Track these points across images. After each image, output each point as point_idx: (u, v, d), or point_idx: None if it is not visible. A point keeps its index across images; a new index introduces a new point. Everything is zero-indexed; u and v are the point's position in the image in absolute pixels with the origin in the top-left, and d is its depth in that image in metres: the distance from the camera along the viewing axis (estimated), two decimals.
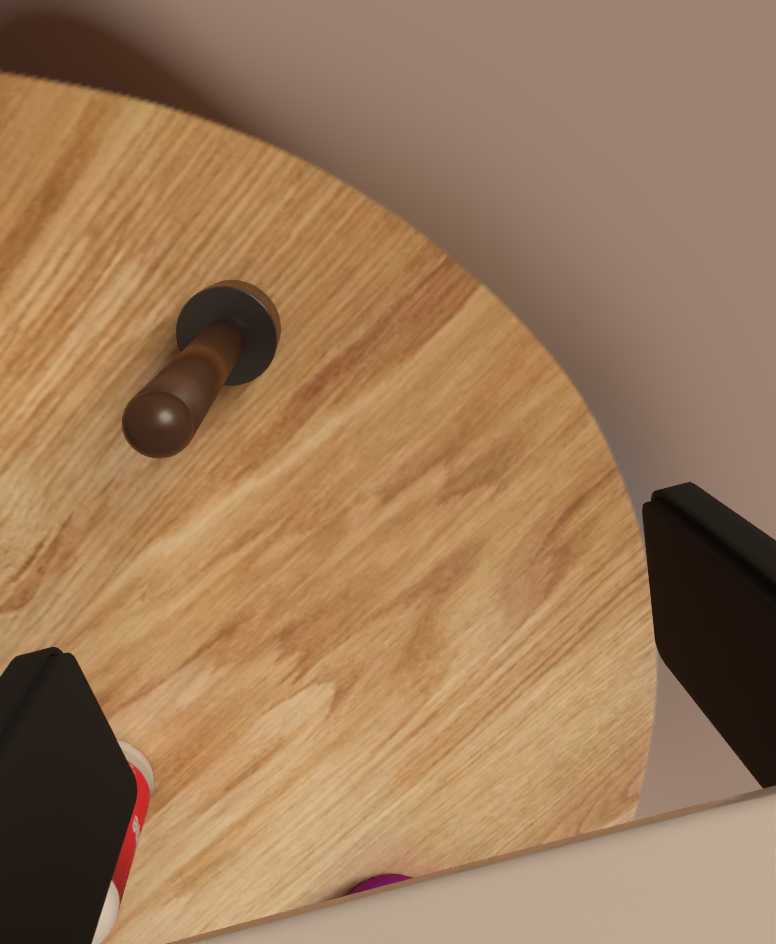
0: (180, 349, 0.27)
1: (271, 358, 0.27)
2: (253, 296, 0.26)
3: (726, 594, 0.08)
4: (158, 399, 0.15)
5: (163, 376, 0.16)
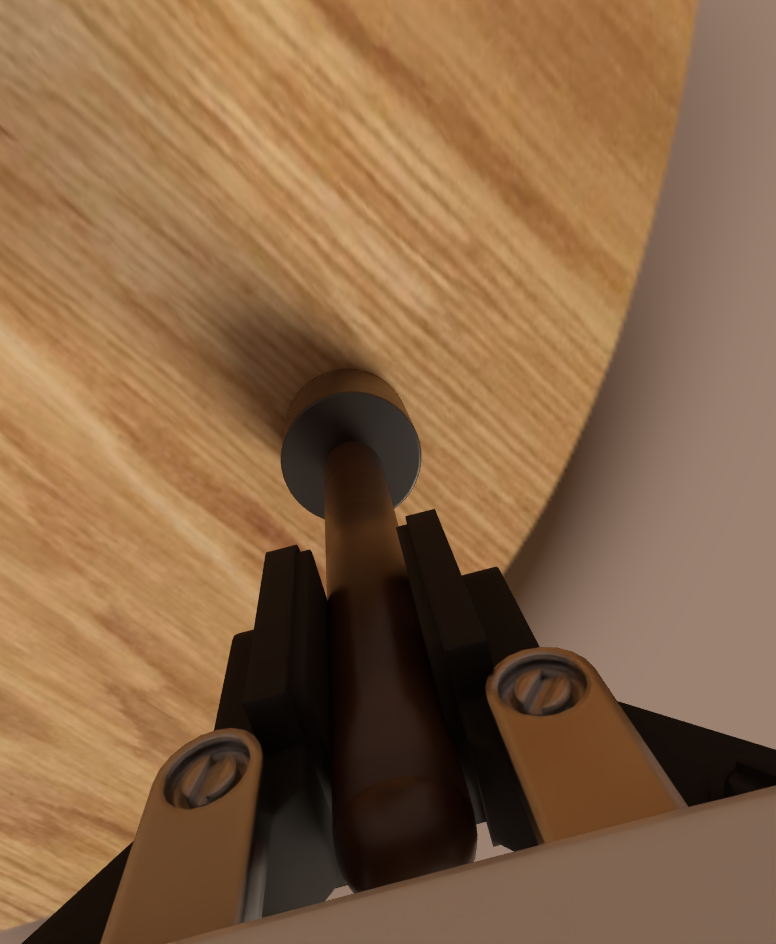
0: (333, 396, 0.18)
1: (322, 517, 0.19)
2: (406, 495, 0.19)
3: None
4: None
5: None
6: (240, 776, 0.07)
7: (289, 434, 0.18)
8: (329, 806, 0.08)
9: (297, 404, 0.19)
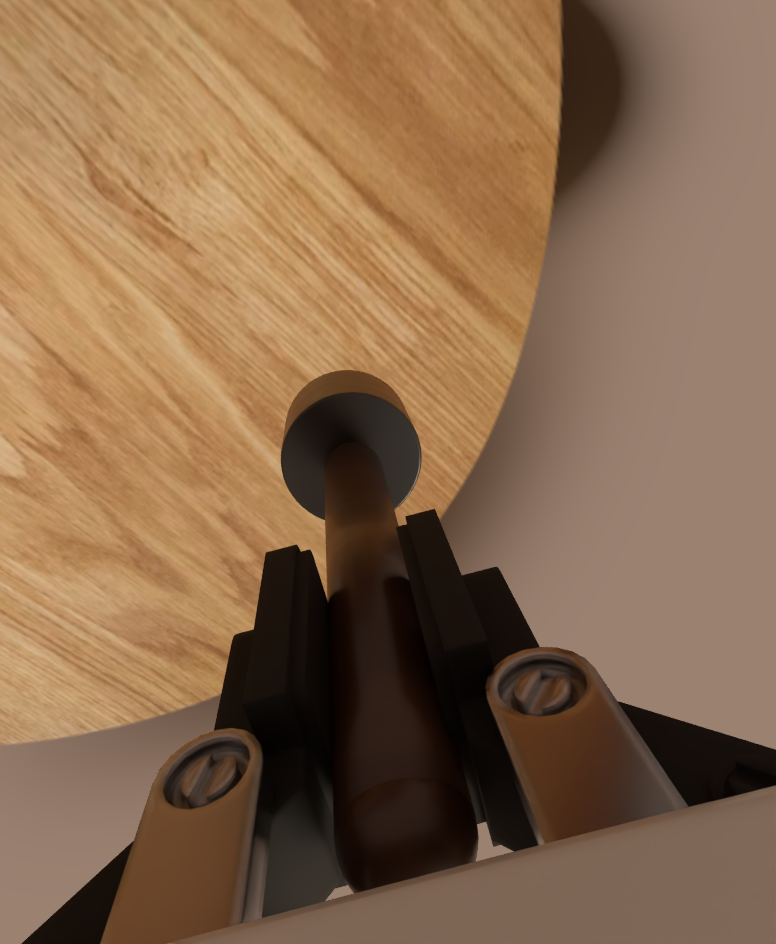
0: (334, 397, 0.18)
1: (322, 518, 0.19)
2: (406, 496, 0.19)
3: None
4: None
5: None
6: (240, 776, 0.07)
7: (289, 435, 0.18)
8: (329, 806, 0.08)
9: (297, 405, 0.19)
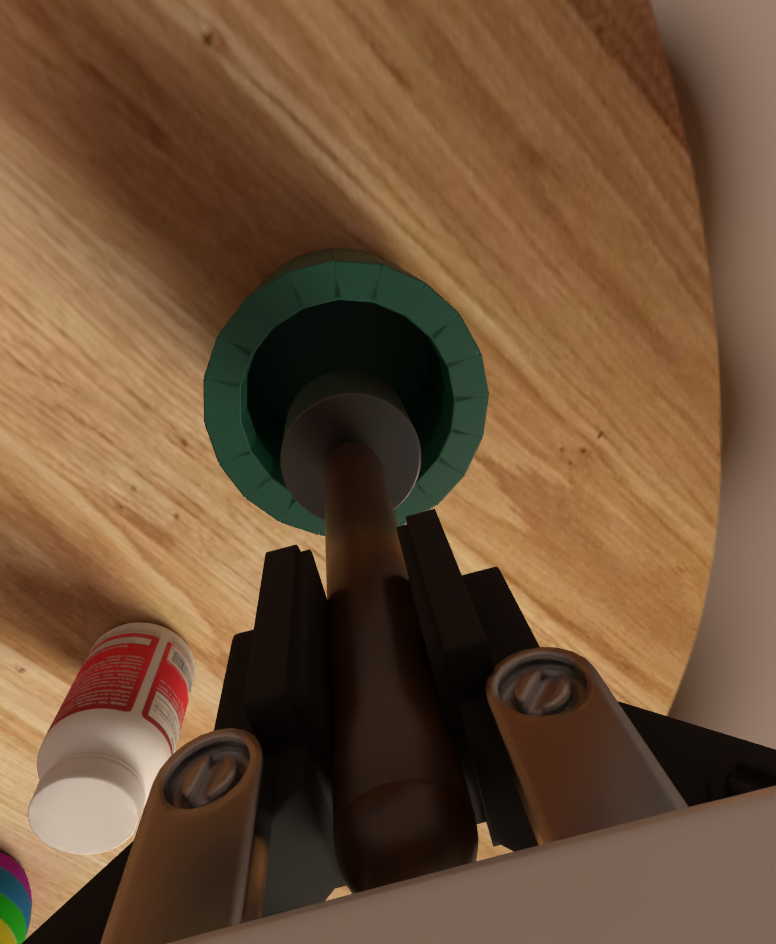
0: (333, 397, 0.18)
1: (322, 518, 0.19)
2: (406, 496, 0.19)
3: None
4: None
5: None
6: (240, 776, 0.07)
7: (289, 435, 0.18)
8: (329, 806, 0.08)
9: (297, 405, 0.19)
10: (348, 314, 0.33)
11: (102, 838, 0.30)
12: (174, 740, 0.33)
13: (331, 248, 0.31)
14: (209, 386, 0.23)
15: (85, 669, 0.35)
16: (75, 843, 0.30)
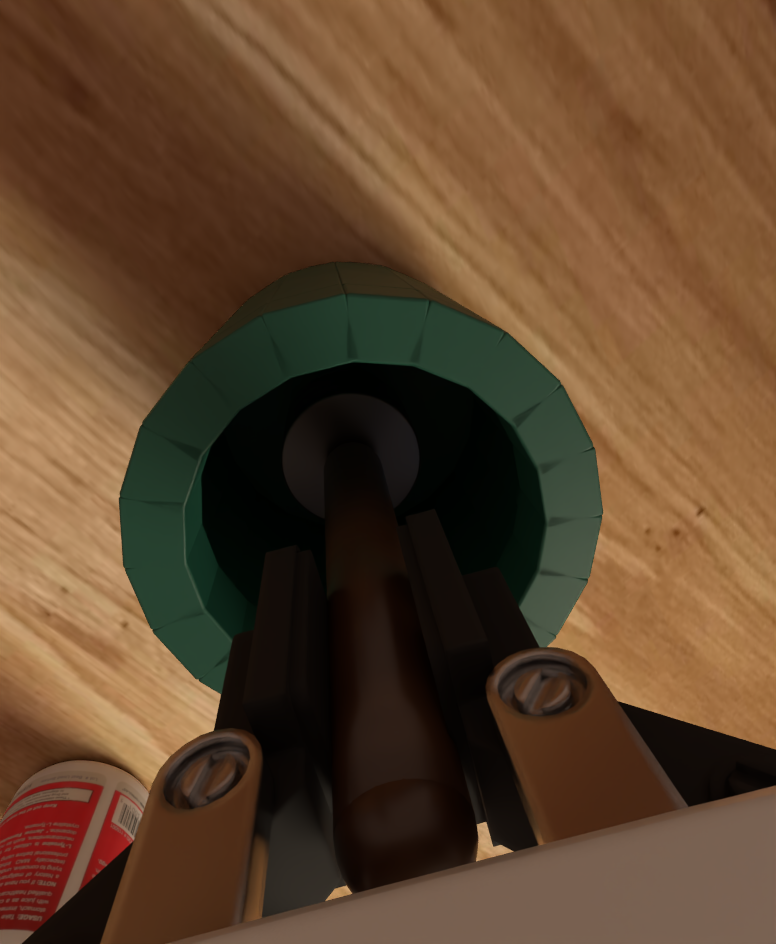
0: (333, 397, 0.18)
1: (322, 518, 0.19)
2: (406, 496, 0.19)
3: None
4: None
5: None
6: (240, 776, 0.07)
7: (289, 435, 0.18)
8: (329, 807, 0.08)
9: (297, 405, 0.19)
10: None
11: None
12: None
13: (337, 262, 0.22)
14: (129, 509, 0.13)
15: None
16: None
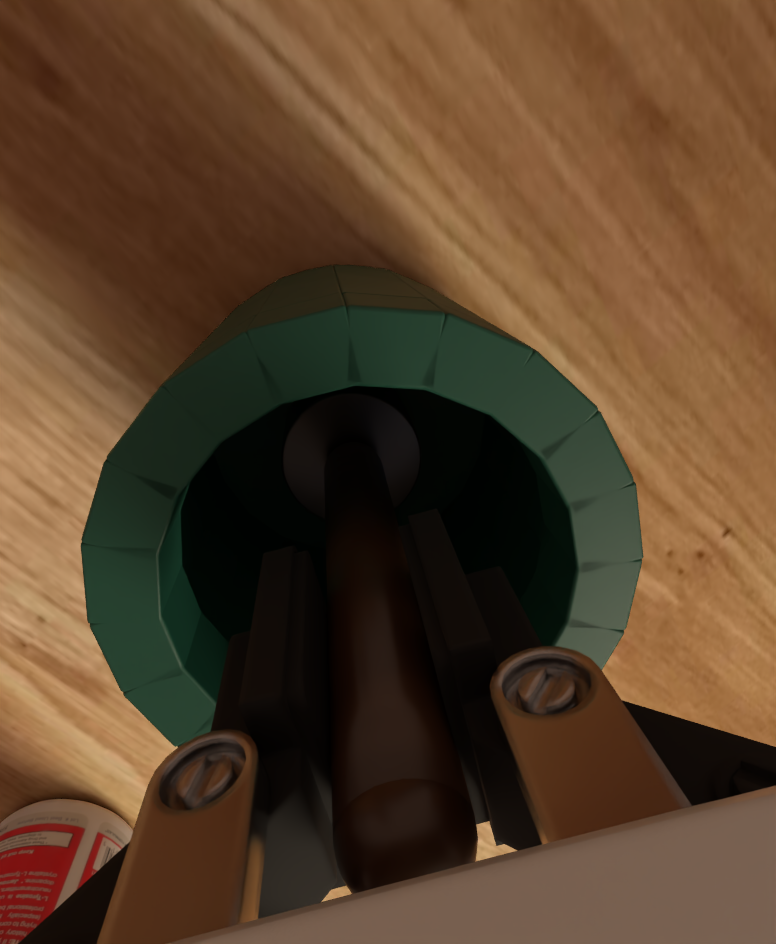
0: (334, 396, 0.18)
1: (323, 517, 0.19)
2: (407, 496, 0.19)
3: None
4: None
5: None
6: (236, 778, 0.07)
7: (290, 435, 0.18)
8: (325, 807, 0.08)
9: (297, 405, 0.19)
10: None
11: None
12: None
13: (335, 265, 0.20)
14: (92, 556, 0.11)
15: None
16: None
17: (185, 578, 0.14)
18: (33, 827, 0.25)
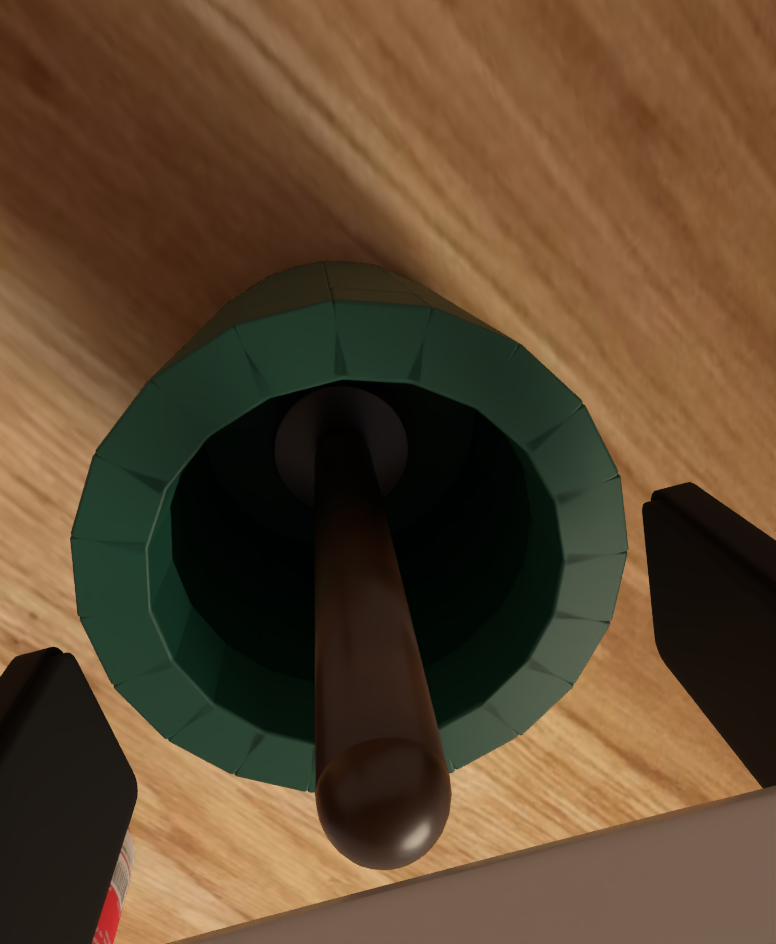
0: (324, 389, 0.18)
1: (313, 507, 0.20)
2: (396, 486, 0.20)
3: (726, 594, 0.08)
4: (444, 822, 0.08)
5: (429, 695, 0.09)
6: None
7: (281, 426, 0.19)
8: None
9: (288, 397, 0.20)
10: None
11: None
12: None
13: (326, 261, 0.20)
14: (82, 550, 0.11)
15: None
16: None
17: (175, 572, 0.14)
18: None
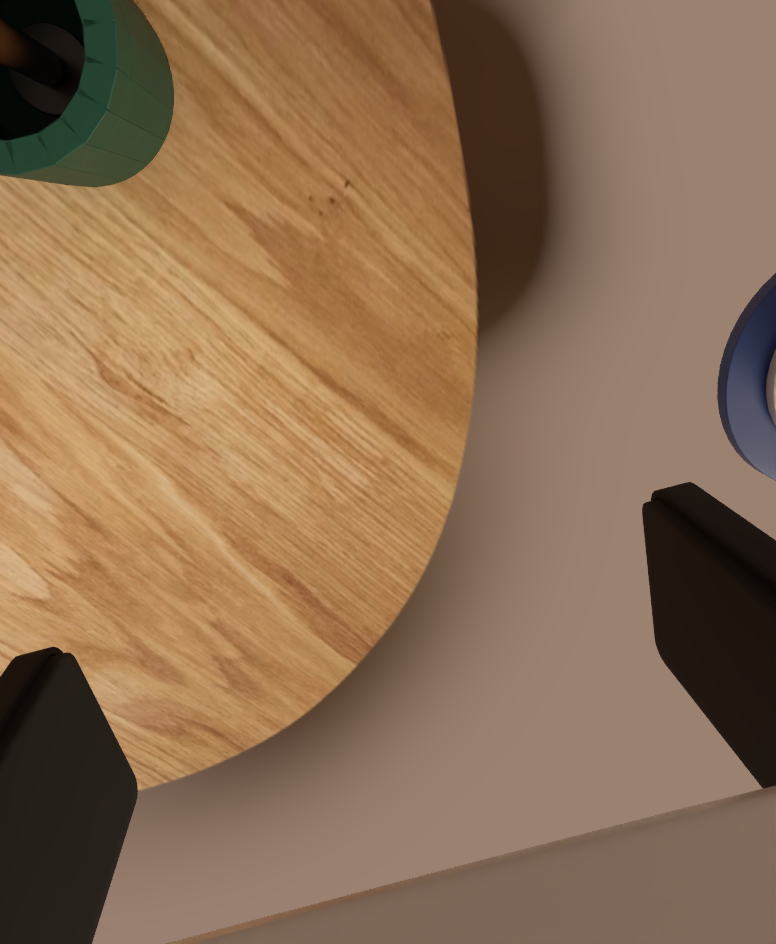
0: (33, 24, 0.32)
1: (38, 109, 0.33)
2: None
3: (726, 594, 0.08)
4: None
5: None
6: None
7: None
8: None
9: None
10: None
11: None
12: None
13: None
14: None
15: None
16: None
17: None
18: None
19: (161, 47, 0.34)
